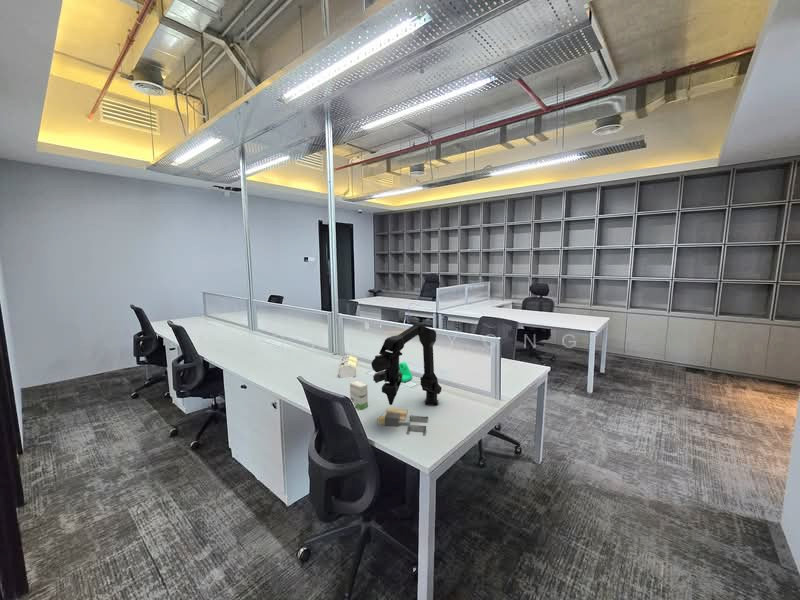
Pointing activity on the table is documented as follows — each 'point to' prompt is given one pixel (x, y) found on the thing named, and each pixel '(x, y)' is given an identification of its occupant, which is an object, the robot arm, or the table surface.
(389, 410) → the pad
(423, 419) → the pair of grey brackets
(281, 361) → the table surface
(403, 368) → the camera mount
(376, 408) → the table surface
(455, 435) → the table surface
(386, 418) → the plug
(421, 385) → the robot arm
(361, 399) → the ink box
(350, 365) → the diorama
